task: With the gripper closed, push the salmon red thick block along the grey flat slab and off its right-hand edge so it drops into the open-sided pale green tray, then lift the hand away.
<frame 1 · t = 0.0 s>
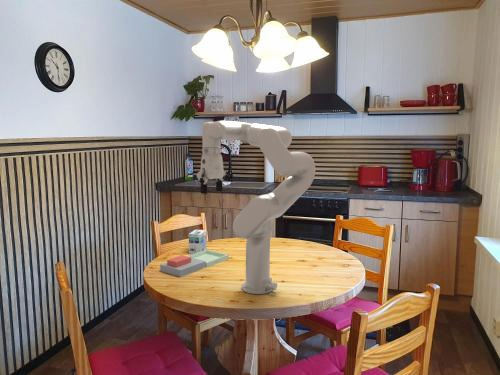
hand: (211, 192, 164), 37 cm above the table, tool pointing down, fingers open, 9 cm apart
salmon red thick block: (179, 263, 176), point 3 cm above the table, touching grey flat slab
grey flat slab: (183, 269, 177), on the table
tray: (206, 260, 191), on the table
light bulb box: (198, 251, 206), on the table
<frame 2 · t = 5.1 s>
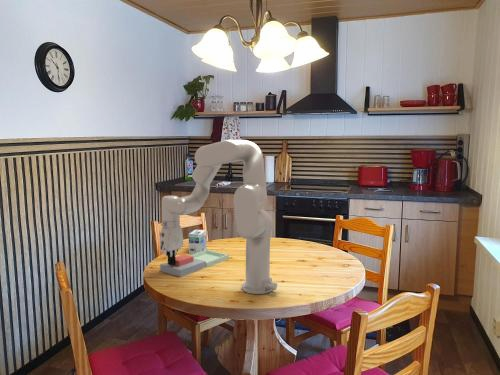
hand: (171, 264, 172), 4 cm above the table, tool pointing down, fingers closed
salmon red thick block: (181, 262, 177), point 3 cm above the table, touching grey flat slab, gripper
everything else where it was.
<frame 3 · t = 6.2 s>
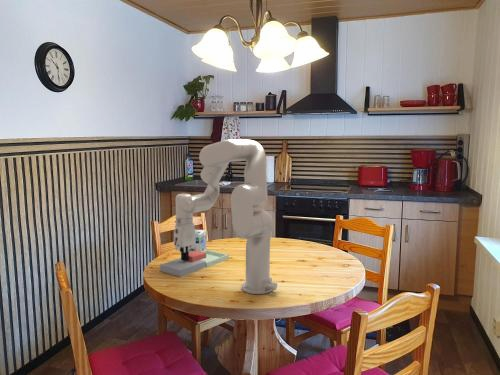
hand: (184, 260, 178), 4 cm above the table, tool pointing down, fingers closed
salmon red thick block: (195, 258, 183), point 3 cm above the table, touching gripper
everything else where it was.
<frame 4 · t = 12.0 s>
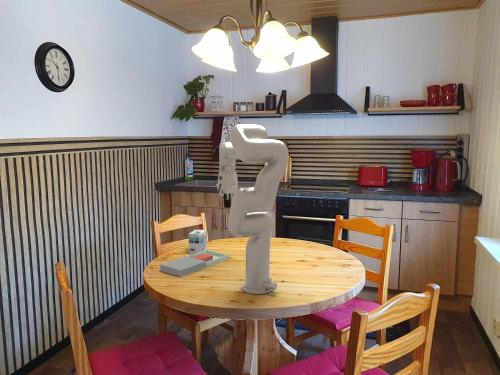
hand: (227, 207, 183), 27 cm above the table, tool pointing down, fingers closed
salmon red thick block: (202, 261, 188), resting on tray
everything else where it was.
at the end: salmon red thick block inside the target area on the tray (3.3 cm from its centre), point 0.4 cm above the tray's base; salmon red thick block resting on tray; salmon red thick block touching tray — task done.
